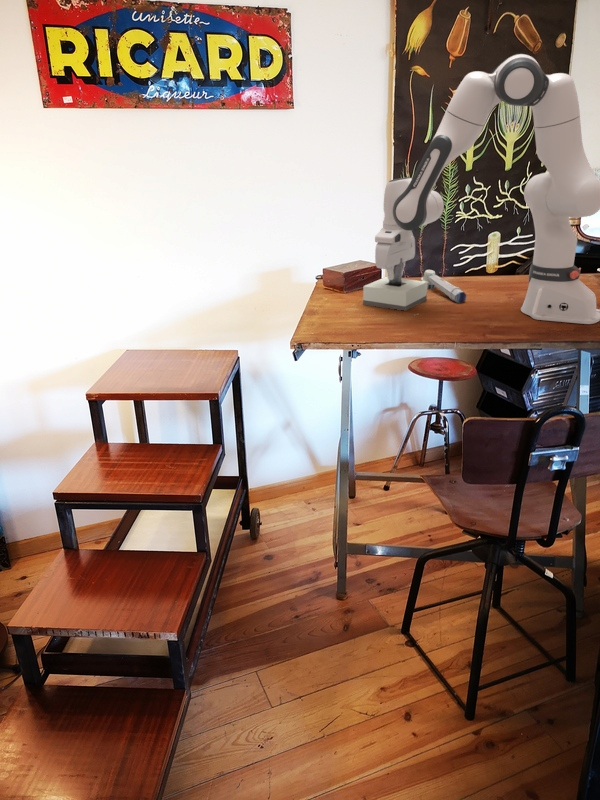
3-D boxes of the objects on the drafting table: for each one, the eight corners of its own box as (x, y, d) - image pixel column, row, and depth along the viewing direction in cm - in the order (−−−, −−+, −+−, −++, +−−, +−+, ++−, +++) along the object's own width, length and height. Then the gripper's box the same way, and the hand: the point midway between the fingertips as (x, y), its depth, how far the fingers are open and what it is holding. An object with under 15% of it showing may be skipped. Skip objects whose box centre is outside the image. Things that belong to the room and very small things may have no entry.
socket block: (426, 299, 196) (427, 281, 193) (405, 311, 185) (405, 292, 182) (385, 294, 204) (386, 276, 202) (363, 304, 193) (363, 286, 191)
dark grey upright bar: (403, 288, 193) (404, 256, 189) (397, 290, 190) (398, 259, 186) (392, 286, 195) (393, 255, 191) (386, 289, 192) (387, 258, 188)
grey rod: (454, 292, 189) (419, 266, 209) (451, 312, 193) (417, 284, 213) (469, 290, 190) (433, 265, 211) (466, 310, 194) (430, 283, 214)
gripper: (403, 227, 194) (401, 270, 200) (372, 237, 179) (370, 283, 185) (421, 229, 191) (418, 272, 197) (390, 239, 176) (389, 285, 182)
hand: (395, 277), depth 191 cm, fingers closed on dark grey upright bar, 4 cm apart
